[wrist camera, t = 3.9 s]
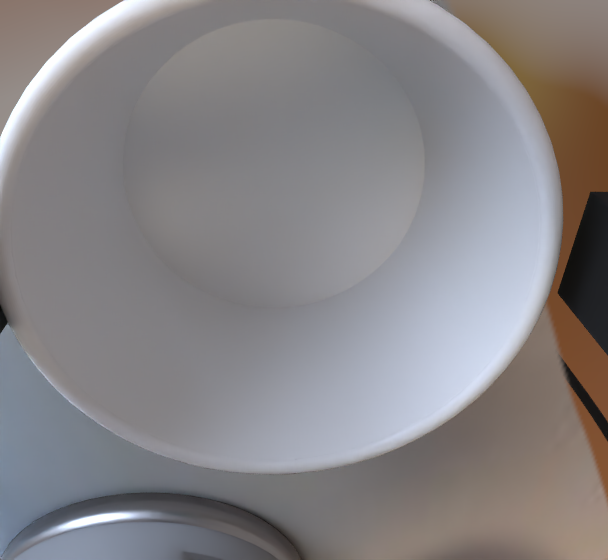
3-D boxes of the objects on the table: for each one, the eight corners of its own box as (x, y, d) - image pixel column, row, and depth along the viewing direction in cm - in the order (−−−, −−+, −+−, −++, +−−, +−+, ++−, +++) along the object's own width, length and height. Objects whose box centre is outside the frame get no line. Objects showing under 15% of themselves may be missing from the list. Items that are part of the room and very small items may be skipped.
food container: (221, -165, 13) (191, -249, 7) (545, 138, 17) (682, 230, 12) (8, 216, 17) (-110, 344, 12) (309, 381, 22) (326, 531, 16)
